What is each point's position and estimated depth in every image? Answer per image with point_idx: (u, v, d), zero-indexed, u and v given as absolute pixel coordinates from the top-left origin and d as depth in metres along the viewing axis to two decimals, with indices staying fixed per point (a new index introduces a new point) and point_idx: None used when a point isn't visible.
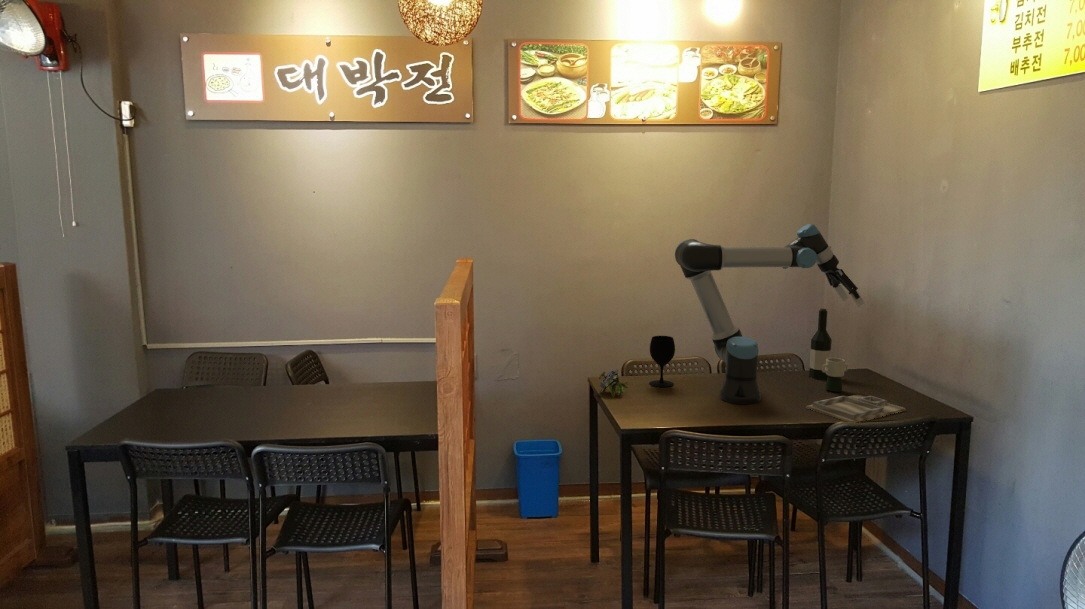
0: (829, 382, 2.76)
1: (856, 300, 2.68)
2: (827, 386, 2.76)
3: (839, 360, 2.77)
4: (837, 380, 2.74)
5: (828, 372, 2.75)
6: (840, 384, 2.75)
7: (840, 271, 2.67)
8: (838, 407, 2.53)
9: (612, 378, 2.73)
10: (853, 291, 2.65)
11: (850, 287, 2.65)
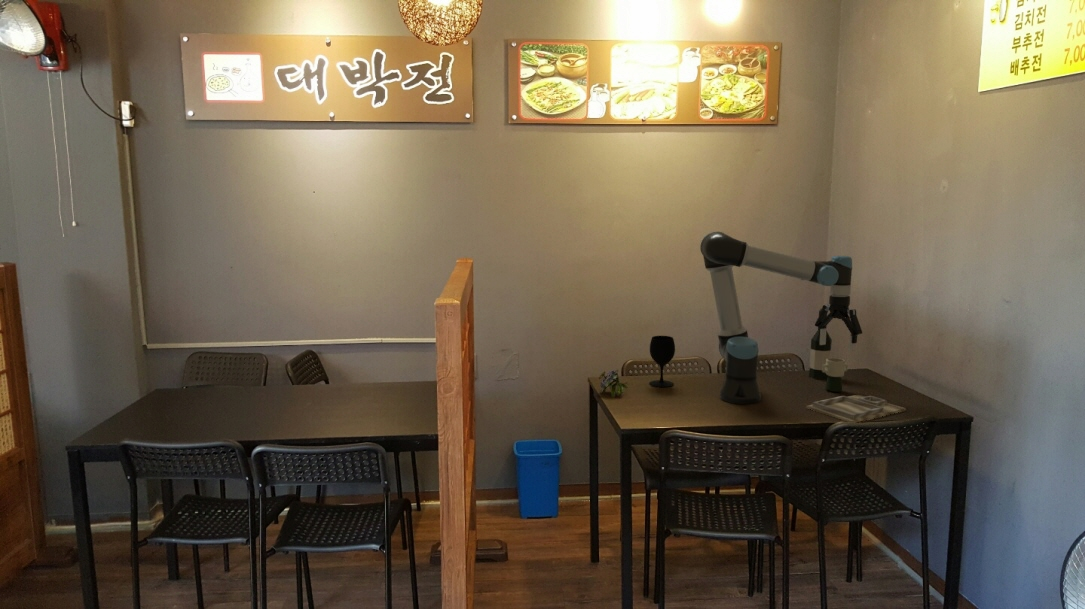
0: (829, 382, 2.76)
1: (851, 344, 2.68)
2: (827, 386, 2.76)
3: (839, 360, 2.77)
4: (837, 380, 2.74)
5: (828, 372, 2.75)
6: (840, 384, 2.75)
7: (854, 310, 2.66)
8: (838, 407, 2.53)
9: (612, 378, 2.73)
10: (858, 333, 2.64)
11: (857, 329, 2.65)
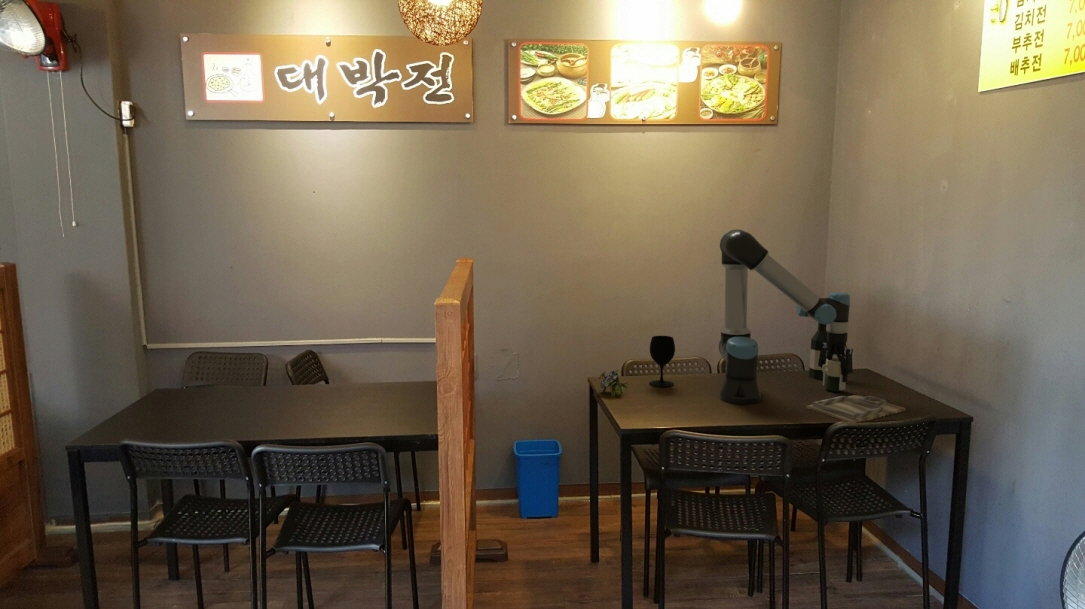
0: (829, 382, 2.76)
1: (841, 383, 2.73)
2: (827, 386, 2.76)
3: None
4: (837, 380, 2.74)
5: (828, 372, 2.75)
6: None
7: (851, 350, 2.69)
8: (838, 407, 2.53)
9: (612, 378, 2.73)
10: (849, 373, 2.69)
11: (849, 369, 2.69)
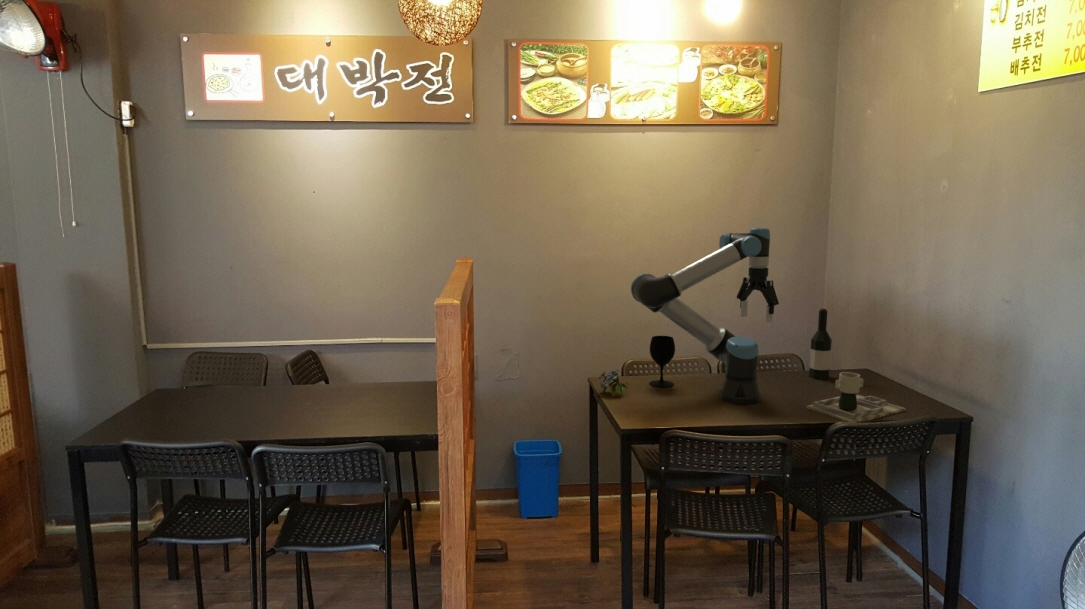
0: (843, 399, 2.50)
1: (768, 315, 2.70)
2: (840, 404, 2.51)
3: (854, 375, 2.52)
4: (851, 397, 2.48)
5: (842, 388, 2.49)
6: (855, 402, 2.49)
7: (771, 282, 2.69)
8: (838, 407, 2.53)
9: (612, 378, 2.73)
10: (774, 304, 2.67)
11: (774, 299, 2.67)
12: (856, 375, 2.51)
